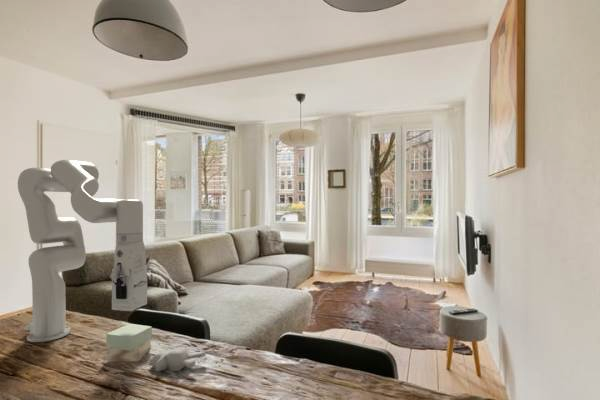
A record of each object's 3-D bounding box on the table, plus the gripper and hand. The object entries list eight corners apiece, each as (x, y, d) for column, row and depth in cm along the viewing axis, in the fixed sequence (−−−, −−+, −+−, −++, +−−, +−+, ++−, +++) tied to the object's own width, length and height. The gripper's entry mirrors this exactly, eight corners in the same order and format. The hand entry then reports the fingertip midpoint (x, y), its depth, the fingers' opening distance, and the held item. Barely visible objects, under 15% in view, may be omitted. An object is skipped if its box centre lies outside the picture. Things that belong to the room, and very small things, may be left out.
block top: (106, 346, 102) (106, 333, 102) (129, 335, 111) (129, 323, 111) (130, 350, 100) (130, 337, 100) (151, 338, 108) (151, 326, 108)
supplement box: (132, 311, 101) (132, 269, 101) (110, 310, 102) (110, 268, 102) (148, 304, 108) (148, 265, 108) (128, 302, 110) (127, 264, 110)
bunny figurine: (162, 344, 103) (206, 343, 100) (164, 361, 103) (208, 360, 100) (141, 358, 94) (189, 357, 91) (143, 377, 94) (191, 376, 91)
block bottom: (108, 362, 100) (107, 349, 100) (122, 349, 109) (122, 337, 109) (138, 362, 101) (138, 348, 101) (150, 349, 110) (150, 336, 110)
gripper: (122, 242, 96) (122, 303, 96) (156, 235, 113) (156, 288, 113) (98, 242, 97) (99, 302, 97) (135, 235, 114) (135, 287, 114)
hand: (129, 294), depth 105 cm, fingers closed on supplement box, 7 cm apart
